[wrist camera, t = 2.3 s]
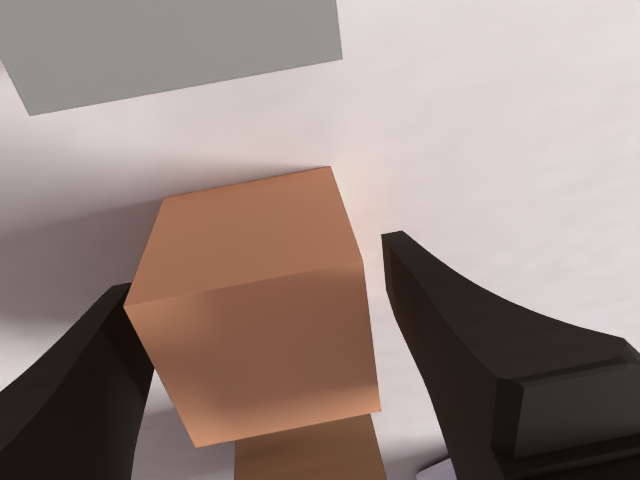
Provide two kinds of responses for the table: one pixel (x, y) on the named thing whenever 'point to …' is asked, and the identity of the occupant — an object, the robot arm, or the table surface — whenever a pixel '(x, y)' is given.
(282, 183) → the terracotta block
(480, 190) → the table surface
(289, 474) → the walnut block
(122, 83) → the slate grey block
